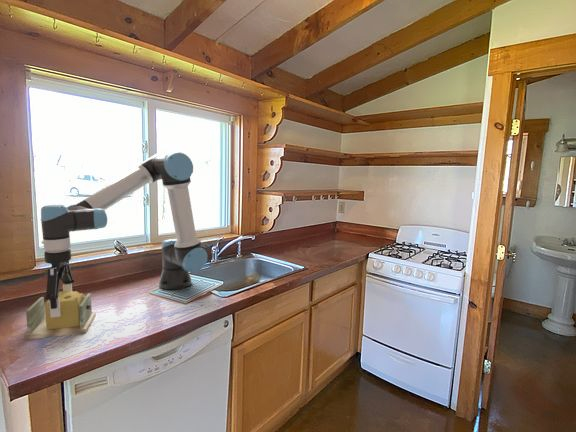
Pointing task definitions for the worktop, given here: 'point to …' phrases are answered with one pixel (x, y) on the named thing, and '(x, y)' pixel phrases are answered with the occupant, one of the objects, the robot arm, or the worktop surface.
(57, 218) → the robot arm
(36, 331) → the holder
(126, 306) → the worktop surface
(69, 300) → the cheese
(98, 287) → the worktop surface
